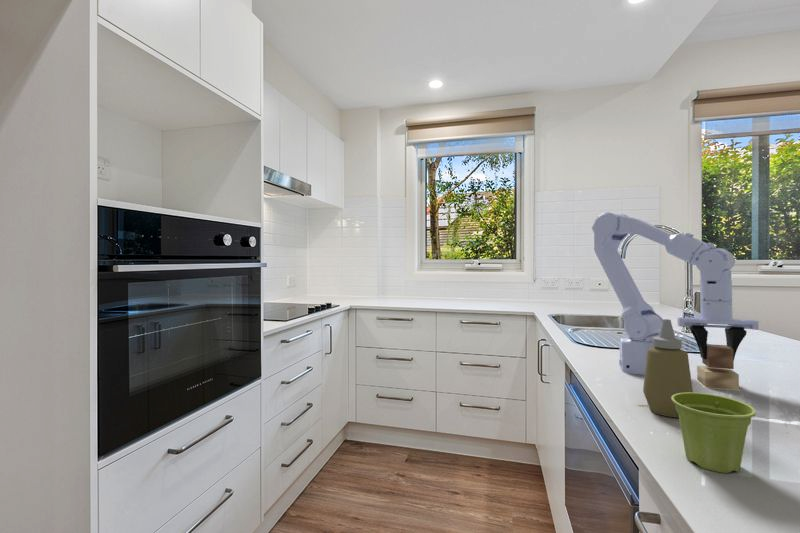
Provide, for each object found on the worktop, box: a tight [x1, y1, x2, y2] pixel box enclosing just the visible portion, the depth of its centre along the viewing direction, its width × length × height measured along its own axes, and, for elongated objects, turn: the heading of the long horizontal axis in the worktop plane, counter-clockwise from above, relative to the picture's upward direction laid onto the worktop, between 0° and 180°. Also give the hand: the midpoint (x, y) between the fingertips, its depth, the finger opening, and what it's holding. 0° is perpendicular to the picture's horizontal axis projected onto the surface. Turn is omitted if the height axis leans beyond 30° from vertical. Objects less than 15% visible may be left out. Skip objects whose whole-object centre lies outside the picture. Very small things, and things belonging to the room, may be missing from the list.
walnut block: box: [701, 343, 735, 370], centre depth 88 cm, size 4×4×4 cm
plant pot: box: [671, 392, 757, 474], centre depth 55 cm, size 9×9×9 cm
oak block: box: [696, 365, 740, 391], centre depth 88 cm, size 6×6×4 cm
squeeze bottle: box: [642, 318, 694, 418], centre depth 74 cm, size 8×8×18 cm
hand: (716, 358), depth 88 cm, fingers closed on walnut block, 4 cm apart
